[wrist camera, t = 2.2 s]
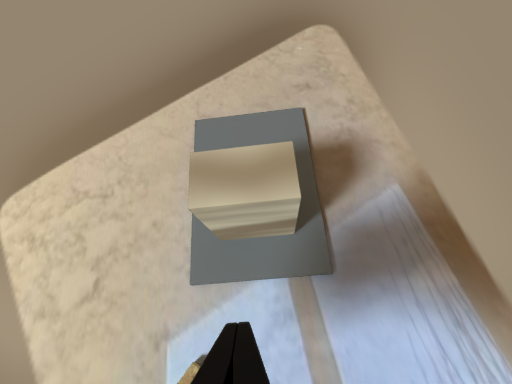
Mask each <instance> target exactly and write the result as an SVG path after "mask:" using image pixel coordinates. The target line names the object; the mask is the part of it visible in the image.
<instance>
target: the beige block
mask: <svg viewBox="0 0 512 384" xmlns="http://www.w3.org/2000/svg"><path fill="white" fill-rule="evenodd" d="M300 201H301V193H300V187H299V181H298V174H297V168H296V161H295V155H294V148H293V142H292V141H289V142H280V143H271V144H263V145H254V146H245V147H236V148H228V149H219V150H210V151H202V152H193V153H190V169H189V194H188V210H190V211H191V212H192V213H193V214H194V215H195V216H196V217H197V218H198V219H199V220H200V221H201V222H202V223H203V224H204V225H205V226H206V227H207V228H209V229H210V230H211V231H212V232H213V233H214V234H215V235H216V236H217V237H218V238H219V239H220V240H221V241H223V240H234V239H245V238H256V237H266V236H277V235H288V234H294V233H295V227H296V222H297V217H298V211H299V206H300Z"/></svg>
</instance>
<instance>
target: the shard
mask: <svg viewBox="0 0 512 384" xmlns="http://www.w3.org/2000/svg"><path fill="white" fill-rule="evenodd" d="M199 368H200V366H199V365H198V364H197V363H196V362H192V364H191V366H190V367H189V368H188V369H187V371H186V372H185V374H184V376H183V377H182V378H181V379H180V381H179V382H178V383H177V384H190V383H191V381H192V380H193V378H194V376H195V375H196V373H197V371H198V370H199Z"/></svg>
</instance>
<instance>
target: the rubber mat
mask: <svg viewBox="0 0 512 384" xmlns="http://www.w3.org/2000/svg"><path fill="white" fill-rule="evenodd" d="M289 141H292V142H293V148H294V155H295V161H296V168H297V174H298V181H299V187H300V193H301V201H300V206H299V211H298V217H297V222H296V227H295V233H294V234H288V235H277V236H266V237H256V238H245V239H234V240H223V241H221V240H220V239H219V238H218V237H217V236H216V235H215V234H214V233H213V232H212V231H211V230H210V229H209V228H207V227H206V226H205V225H204V224H203V223H202V222H201V221H200V220H199V219H198V218H197V217H196V216H195V215H194V214H193V213H192V238H191V270H190V285H202V284H214V283H226V282H238V281H250V280H262V279H274V278H286V277H298V276H311V275H323V274H332V273H333V272H332V267H331V261H330V256H329V251H328V245H327V240H326V234H325V229H324V223H323V218H322V213H321V207H320V202H319V196H318V191H317V186H316V180H315V175H314V169H313V164H312V158H311V153H310V148H309V142H308V137H307V131H306V126H305V120H304V115H303V110H302V107H301V108H293V109H285V110H276V111H268V112H260V113H252V114H244V115H236V116H228V117H219V118H211V119H203V120H195V143H194V152H202V151H210V150H219V149H228V148H236V147H245V146H254V145H263V144H271V143H280V142H289Z"/></svg>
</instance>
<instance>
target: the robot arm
mask: <svg viewBox="0 0 512 384" xmlns="http://www.w3.org/2000/svg"><path fill="white" fill-rule="evenodd" d="M190 384H270V382H269V379H268V376H267V373H266V370H265V367H264V364H263V361H262V358H261V355H260V352H259V349H258V346H257V343H256V340H255V337H254V334H253V331H252V328H251V325H250V323H249V322H239V323H227V324H226V325H225V327H224V328H223V330H222V332H221V333H220V335H219V337H218V338H217V340H216V342H215V343H214V345H213V347H212V348H211V350H210V352H209V353H208V355H207V357H206V358H205V360H204V362H203V363H202V365H201V366H200V368H199V370H198V371H197V373H196V375H195V376H194V378H193V380H192V381H191V383H190Z"/></svg>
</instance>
